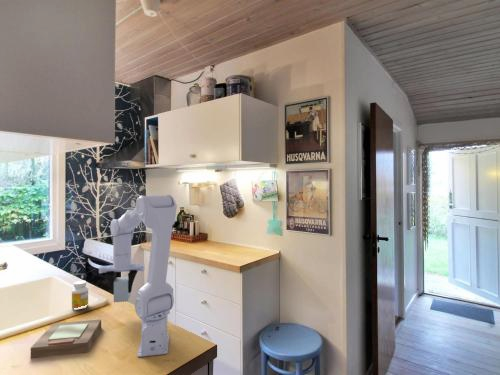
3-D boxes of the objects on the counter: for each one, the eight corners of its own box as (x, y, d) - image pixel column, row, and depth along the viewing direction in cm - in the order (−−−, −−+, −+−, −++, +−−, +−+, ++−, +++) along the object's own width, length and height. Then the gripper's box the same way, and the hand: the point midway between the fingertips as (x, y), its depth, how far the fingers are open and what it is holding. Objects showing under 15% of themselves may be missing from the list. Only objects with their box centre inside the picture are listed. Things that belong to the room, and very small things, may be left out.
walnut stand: (87, 352, 82) (87, 340, 82) (30, 358, 79) (30, 346, 79) (101, 327, 96) (101, 318, 96) (53, 332, 93) (53, 322, 93)
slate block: (127, 301, 101) (127, 281, 101) (113, 302, 100) (113, 281, 100) (130, 296, 105) (130, 276, 105) (116, 297, 104) (116, 277, 104)
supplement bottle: (68, 308, 110) (68, 283, 110) (82, 303, 115) (82, 279, 115) (77, 312, 107) (77, 285, 107) (91, 306, 112) (91, 281, 112)
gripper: (145, 249, 108) (145, 286, 108) (102, 251, 104) (102, 289, 105) (143, 254, 101) (142, 294, 101) (97, 256, 98) (96, 297, 98)
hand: (122, 292), depth 102 cm, fingers closed on slate block, 4 cm apart
